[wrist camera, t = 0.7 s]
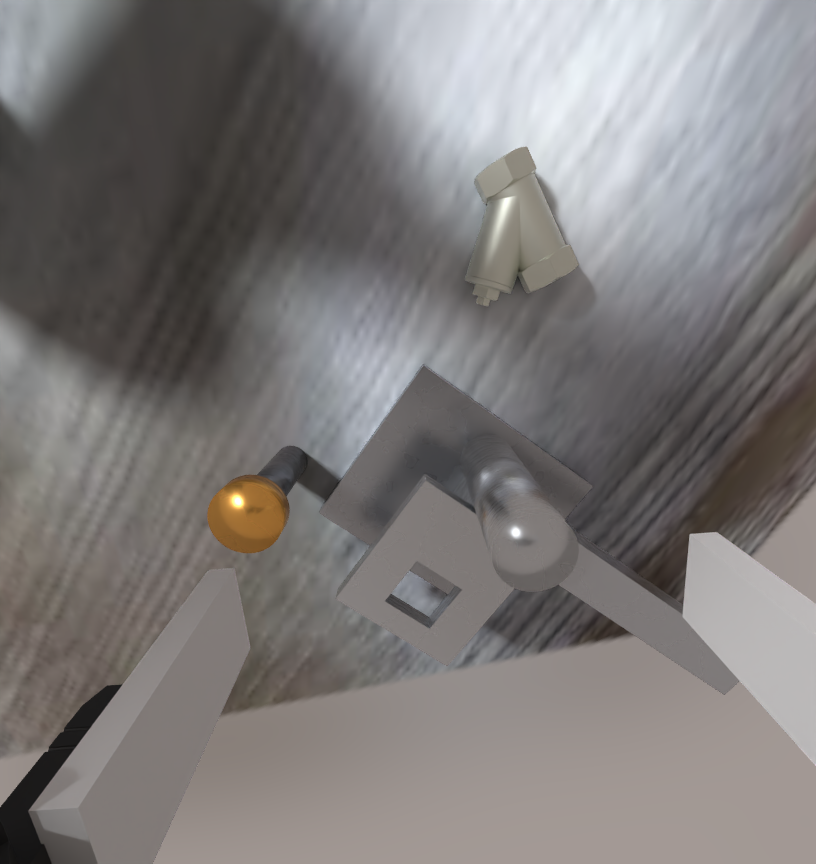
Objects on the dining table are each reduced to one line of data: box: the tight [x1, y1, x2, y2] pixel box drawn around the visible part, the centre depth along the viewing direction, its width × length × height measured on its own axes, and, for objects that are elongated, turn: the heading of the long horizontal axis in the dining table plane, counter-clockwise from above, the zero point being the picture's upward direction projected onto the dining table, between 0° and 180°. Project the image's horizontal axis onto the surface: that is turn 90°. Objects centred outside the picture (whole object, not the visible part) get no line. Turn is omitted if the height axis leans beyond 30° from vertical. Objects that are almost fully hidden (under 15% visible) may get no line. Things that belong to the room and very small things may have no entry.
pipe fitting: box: [465, 147, 579, 307], centre depth 30 cm, size 8×4×7 cm
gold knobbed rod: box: [208, 446, 307, 553], centre depth 31 cm, size 4×4×10 cm
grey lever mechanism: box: [319, 364, 739, 695], centre depth 30 cm, size 23×15×15 cm, turn 55°
